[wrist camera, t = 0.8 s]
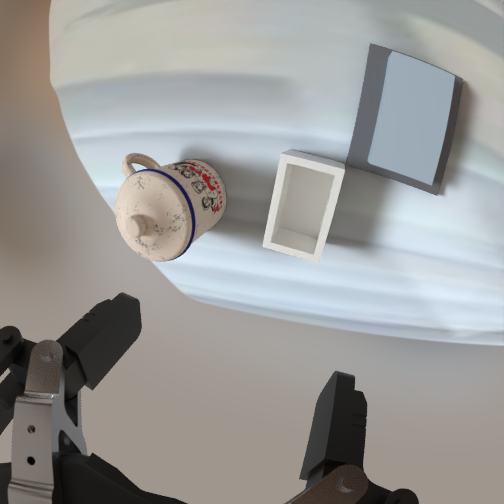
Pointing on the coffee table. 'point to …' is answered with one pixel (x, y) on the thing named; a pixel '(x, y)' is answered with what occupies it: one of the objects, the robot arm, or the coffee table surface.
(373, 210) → the coffee table surface
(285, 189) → the white open cubby box
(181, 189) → the teacup with lid
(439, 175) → the mat
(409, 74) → the lid
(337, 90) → the coffee table surface
